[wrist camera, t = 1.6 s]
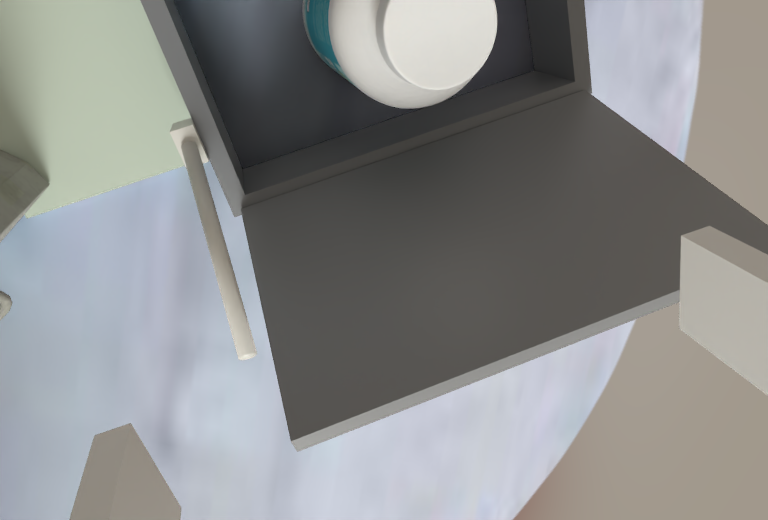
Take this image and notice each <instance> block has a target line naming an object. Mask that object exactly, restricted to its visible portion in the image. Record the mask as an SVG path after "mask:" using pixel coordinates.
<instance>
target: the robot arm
mask: <svg viewBox="0 0 768 520" xmlns="http://www.w3.org/2000/svg"><path fill="white" fill-rule="evenodd" d="M679 305H680V306H679V329H680V330H682V331H683V332H684V333H686V334H687V335H688V336H690V337H691V338H692V339H694V340H695V341H696V342H698V343H699V344H700V345H702V346H703V347H704V348H705V349H707V350H708V351H710V352H711V353H712V354H713V355H715V356H716V357H717V358H719V359H720V360H722V361H723V362H724V363H725V364H727V365H728V366H729V367H731V368H732V369H733V370H735V371H736V372H737V373H738V374H740V375H741V376H742V377H744V378H745V379H747V380H748V381H749V382H750V383H752V384H753V385H754V386H756V387H757V388H758V389H760V390H761V391H762V392H764V393H765V394H766V395H768V255H767V254H765V253H763V252H761V251H759V250H757V249H755V248H753V247H751V246H749V245H747V244H745V243H743V242H741V241H739V240H737V239H735V238H733V237H731V236H729V235H727V234H725V233H723V232H721V231H719V230H717V229H715V228H713V227H711V226H707V227H704V228H702V229H699V230H696V231H693V232H690V233H687V234H684V235H681V259H680V304H679ZM180 518H181V506H180V505H179V503H178V501H177V500H176V498H175V496H174V495H173V493H172V491H171V490H170V488H169V486H168V485H167V483H166V481H165V480H164V478H163V476H162V475H161V473H160V471H159V470H158V468H157V466H156V465H155V463H154V461H153V460H152V458H151V456H150V455H149V453H148V451H147V450H146V448H145V446H144V445H143V443H142V441H141V439H140V438H139V436H138V434H137V433H136V431H135V429H134V428H133V426H132V424H131V423H130V424H127V425H124V426H121V427H118V428H115V429H112V430H109V431H106V432H103V433H100V434H97V435H95V436H94V439H93V442H92V446H91V449H90V452H89V456H88V459H87V462H86V466H85V469H84V472H83V476H82V479H81V482H80V486H79V489H78V492H77V496H76V499H75V503H74V506H73V509H72V513H71V516H70V519H69V520H180Z"/></svg>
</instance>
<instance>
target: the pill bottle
mask: <svg viewBox="0 0 768 520" xmlns="http://www.w3.org/2000/svg"><path fill="white" fill-rule="evenodd" d="M303 21H304V26H305V30H306V33H307V36H308V39H309V41H310V43H311V45H312V47H313V49H314V50H315V52H316V53H317V54H318V56H319V57H320V58H321V59H322V60H323V61H324V62H325V63H326V64H327V65H328V66H329V67H330V68H332V69H333V70H334V71H336V72H337V73H338V74H340V75H341V76H342V77H344V78H345V79H346V80H348V81H349V82H350V83H352V84H353V85H354V86H356V87H357V88H358V89H359V90H361V91H362V92H363V93H365V94H366V95H367V96H369V97H371V98H372V99H374V100H376V101H378V102H380V103H383V104H385V105H388V106H392V107H396V108H405V109H411V108H422V107H427V106H432V105H434V104H437V103H440V102H442V101H444V100H446V99H448V98H449V97H451V96H453V95H454V94H456V93H457V92H458V91H460V90H461V89H462V88H463V87H464V86H465V85H466V84H467V83H468V82H469V81H470V80H471V79H472V78H473V77H474V75H475V74H476V73H477V72H478V71H479V69H480V68H481V67H482V66H483V64H484V63H485V61H486V60H487V58H488V56H489V54H490V52H491V50H492V48H493V45H494V41H495V37H496V33H497V10H496V5H495V1H494V0H303Z"/></svg>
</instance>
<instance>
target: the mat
mask: <svg viewBox="0 0 768 520" xmlns="http://www.w3.org/2000/svg"><path fill="white" fill-rule="evenodd" d="M188 118H191V116H190V114H189V111H188V109H187V107H186V104H185V102H184V100H183V98H182V95H181V93H180V91H179V88H178V86H177V84H176V81H175V79H174V77H173V75H172V72H171V70H170V68H169V65H168V63H167V61H166V58H165V56H164V54H163V52H162V49H161V47H160V45H159V42H158V40H157V38H156V35H155V33H154V31H153V29H152V26H151V24H150V22H149V19H148V17H147V15H146V12H145V10H144V8H143V6H142V3H141V1H140V0H0V149H1V150H3V151H5V152H7V153H9V154H11V155H13V156H15V157H17V158H19V159H21V160H23V161H25V162H27V163H29V164H30V165H31V166H32V167H33V168H34V169H35V170H36V171H37V172H38V173H39V174H40V175H41V176H42V177H43V178H44V179H45V180H46V181H47V182H48V183H50V185H49V186H48V187H47V189H46V190H45V191H44V192H43V193H42V194H41V196H40V197H39V198H38V199H37V200H36V201H35V203H34V204H33V205H32V206H31V207H30V208H29V210H28V211H27V212H26V213H25V214H24V215H25V216H26V218H30V217H33V216H36V215H39V214H42V213H45V212H48V211H51V210H54V209H57V208H60V207H63V206H66V205H69V204H72V203H75V202H78V201H81V200H84V199H87V198H90V197H93V196H96V195H99V194H102V193H105V192H108V191H111V190H114V189H117V188H120V187H123V186H126V185H129V184H132V183H135V182H138V181H141V180H144V179H146V178H149V177H152V176H155V175H158V174H161V173H164V172H167V171H170V170H173V169H176V168H179V167H182V166H185V165H184V162H183V160H182V158H181V156H180V154H179V152H178V149H177V147H176V145H175V143H174V141H173V139H172V136H171V134H170V130H171V127H172V124H173V123H176V122H179V121H182V120H185V119H188Z"/></svg>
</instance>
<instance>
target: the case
mask: <svg viewBox="0 0 768 520" xmlns="http://www.w3.org/2000/svg"><path fill="white" fill-rule="evenodd" d="M140 1H141V3H142V6H143V8H144V10H145V12H146V15H147V17H148V19H149V22H150V24H151V26H152V29H153V31H154V33H155V35H156V38H157V40H158V42H159V45H160V47H161V49H162V52H163V54H164V56H165V58H166V61H167V63H168V65H169V68H170V70H171V72H172V75H173V77H174V79H175V81H176V84H177V86H178V88H179V91H180V93H181V95H182V98H183V100H184V102H185V104H186V107H187V109H188V111H189V114H190V116H191V118H188V119H185V120H182V121H179V122H176V123H173V124H172V127H171V130H170V134H171V136H172V139H173V141H174V143H175V145H176V147H177V149H178V152H179V154H180V156H181V158H182V160H183V162H184V165H185V167H186V169H187V171H188V175H189V178H190V182H191V186H192V189H193V193H194V197H195V200H196V204H197V208H198V211H199V215H200V219H201V223H202V226H203V230H204V234H205V237H206V241H207V245H208V248H209V252H210V256H211V259H212V263H213V267H214V270H215V274H216V278H217V281H218V285H219V289H220V292H221V296H222V300H223V303H224V307H225V311H226V314H227V318H228V322H229V325H230V329H231V333H232V337H233V340H234V344H235V348H236V351H237V355H238V359H239V360H247V359H250V358H253V357H255V356H256V355H257V351H256V348H255V344H254V341H253V337H252V334H251V330H250V327H249V323H248V320H247V316H246V313H245V309H244V306H243V302H242V299H241V295H240V292H239V288H238V285H237V281H236V278H235V274H234V271H233V267H232V264H231V260H230V257H229V254H228V250H227V247H226V243H225V240H224V236H223V233H222V229H221V226H220V222H219V219H218V215H217V212H216V208H215V205H214V201H213V198H212V194H211V191H210V187H209V184H208V180H207V177H206V173H205V170H204V166H203V163H206V162H209V160H210V162H211V164H212V167H213V169H214V171H215V173H216V176H217V178H218V180H219V183H220V185H221V187H222V189H223V192H224V194H225V196H226V199H227V201H228V203H229V206H230V208H231V210H232V212H233V215H234V217H237V216H240V215H242V217H243V222H244V226H245V231H246V236H247V240H248V245H249V250H250V254H251V259H252V263H253V268H254V273H255V277H256V282H257V286H258V291H259V296H260V300H261V305H262V310H263V314H264V319H265V323H266V328H267V333H268V337H269V342H270V347H271V351H272V356H273V360H274V365H275V370H276V374H277V379H278V384H279V388H280V393H281V397H282V402H283V407H284V411H285V416H286V420H287V425H288V430H289V434H290V439H291V442H292V444H293V445H294V447H295V449H296V450H297V452H298V451H301V450H303V449H306V448H308V447H311V446H314V445H316V444H319V443H321V442H324V441H326V440H329V439H331V438H334V437H337V436H339V435H342V434H344V433H347V432H349V431H352V430H354V429H357V428H359V427H362V426H365V425H367V424H370V423H372V422H375V421H377V420H380V419H382V418H385V417H387V416H390V415H393V414H395V413H398V412H400V411H403V410H405V409H408V408H410V407H413V406H416V405H418V404H421V403H423V402H426V401H428V400H431V399H433V398H436V397H438V396H441V395H444V394H446V393H449V392H451V391H454V390H456V389H459V388H461V387H464V386H466V385H469V384H472V383H474V382H477V381H479V380H482V379H484V378H487V377H489V376H492V375H495V374H497V373H500V372H502V371H505V370H507V369H510V368H512V367H515V366H517V365H520V364H523V363H525V362H528V361H530V360H533V359H535V358H538V357H540V356H543V355H545V354H548V353H551V352H553V351H556V350H558V349H561V348H563V347H566V346H568V345H571V344H574V343H576V342H579V341H581V340H584V339H586V338H589V337H591V336H594V335H596V334H599V333H602V332H604V331H607V330H609V329H612V328H614V327H617V326H619V325H622V324H624V323H627V322H630V321H632V320H635V319H637V318H640V317H642V316H645V315H647V314H650V313H653V312H655V311H658V310H660V309H663V308H665V307H668V306H670V305H673V304H675V303H678V302H680V259H681V235H684V234H687V233H690V232H693V231H696V230H699V229H702V228H704V227H707V226H711V227H713V228H715V229H717V230H719V231H721V232H723V233H725V234H727V235H729V236H731V237H733V238H735V239H737V240H739V241H741V242H743V243H745V244H747V245H749V246H751V247H753V248H755V249H757V250H759V251H761V252H763V253H765V254H767V255H768V225H767V224H765V223H764V222H762V221H761V220H760V219H759V218H757V217H756V216H755V215H753V214H752V213H750V212H749V211H748V210H746V209H745V208H743V207H742V206H741V205H740V204H738V203H737V202H736V201H734V200H733V199H731V198H730V197H729V196H728V195H726V194H725V193H723V192H722V191H721V190H719V189H718V188H717V187H715V186H714V185H713V184H711V183H710V182H708V181H707V180H706V179H705V178H703V177H702V176H700V175H699V174H698V173H696V172H695V171H694V170H692V169H691V168H690V167H688V166H687V165H686V164H684V163H683V162H682V161H680V160H679V159H678V158H676V157H675V156H673V155H672V154H671V153H669V152H668V151H667V150H665V149H664V148H663V147H661V146H660V145H659V144H657V143H656V142H655V141H653V140H652V139H650V138H649V137H648V136H646V135H645V134H644V133H642V132H641V131H640V130H638V129H637V128H636V127H634V126H633V125H632V124H630V123H629V122H627V121H626V120H625V119H623V118H622V117H621V116H619V115H618V114H617V113H615V112H614V111H613V110H611V109H610V108H609V107H607V106H606V105H605V104H603V103H602V102H600V101H599V100H598V99H596V98H595V97H594V96H592V95H591V93H592V87H591V76H590V64H589V52H588V41H587V29H586V17H585V5H584V0H525V3H526V11H527V18H528V26H529V33H530V41H531V49H532V56H533V64H534V71H531V72H528V73H525V74H522V75H519V76H517V77H514V78H511V79H508V80H505V81H502V82H499V83H496V84H493V85H490V86H487V87H484V88H481V89H478V90H475V91H472V92H469V93H466V94H463V95H460V96H458V97H455V98H452V99H449V100H446V101H443V102H440V103H437V104H434V105H432V106H428V107H425V108H422V109H419V110H416V111H413V112H410V113H407V114H404V115H401V116H399V117H396V118H393V119H390V120H387V121H384V122H381V123H378V124H375V125H372V126H369V127H366V128H363V129H360V130H357V131H354V132H351V133H348V134H345V135H342V136H340V137H337V138H334V139H331V140H328V141H325V142H322V143H319V144H316V145H313V146H310V147H307V148H304V149H301V150H298V151H295V152H292V153H289V154H286V155H283V156H281V157H278V158H275V159H272V160H269V161H266V162H263V163H260V164H257V165H254V166H251V167H248V168H245V169H242V167H241V164H240V162H239V159H238V157H237V154H236V152H235V149H234V147H233V145H232V142H231V140H230V137H229V135H228V132H227V130H226V127H225V125H224V123H223V120H222V118H221V115H220V113H219V110H218V108H217V105H216V103H215V101H214V98H213V96H212V93H211V91H210V88H209V86H208V83H207V81H206V78H205V76H204V74H203V71H202V69H201V66H200V64H199V61H198V59H197V56H196V54H195V52H194V49H193V47H192V44H191V42H190V39H189V37H188V34H187V32H186V30H185V27H184V25H183V22H182V20H181V17H180V15H179V12H178V10H177V8H176V5H175V3H174V0H140Z"/></svg>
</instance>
